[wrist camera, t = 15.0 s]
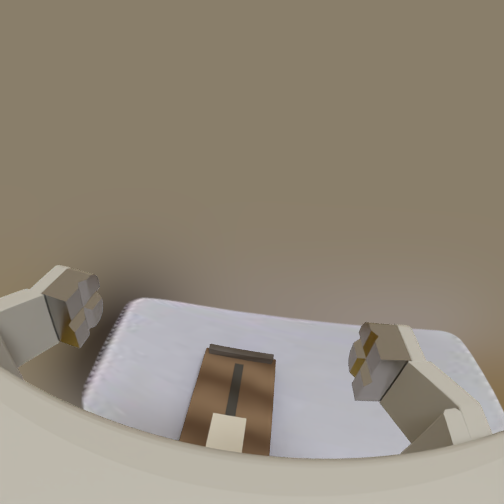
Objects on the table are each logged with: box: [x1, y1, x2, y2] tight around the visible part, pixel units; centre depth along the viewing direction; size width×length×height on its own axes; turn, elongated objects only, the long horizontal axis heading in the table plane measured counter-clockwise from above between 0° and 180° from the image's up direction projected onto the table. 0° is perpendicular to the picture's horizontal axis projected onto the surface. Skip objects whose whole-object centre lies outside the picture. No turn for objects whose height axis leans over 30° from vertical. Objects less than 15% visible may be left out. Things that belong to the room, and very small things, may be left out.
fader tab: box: [206, 413, 246, 453], centre depth 20 cm, size 6×6×12 cm
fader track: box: [179, 344, 276, 456], centre depth 28 cm, size 28×10×3 cm, turn 174°
